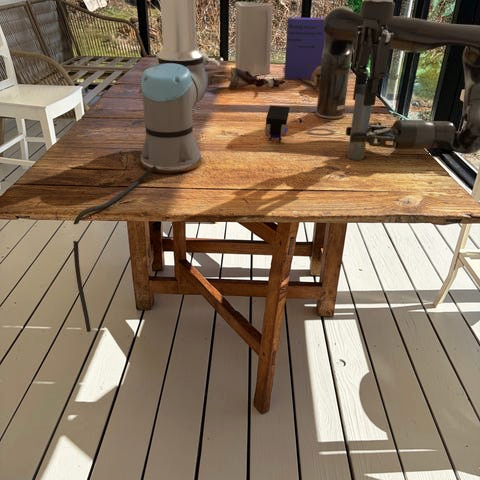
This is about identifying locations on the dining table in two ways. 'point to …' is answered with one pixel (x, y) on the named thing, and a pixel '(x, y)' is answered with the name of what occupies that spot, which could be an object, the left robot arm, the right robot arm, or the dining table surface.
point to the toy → (205, 60)
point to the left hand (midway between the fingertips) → (363, 102)
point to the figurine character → (276, 122)
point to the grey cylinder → (359, 127)
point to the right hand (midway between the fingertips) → (348, 134)
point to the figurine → (246, 79)
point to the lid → (361, 87)
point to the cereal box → (303, 47)
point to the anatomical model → (316, 78)
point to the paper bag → (253, 37)
